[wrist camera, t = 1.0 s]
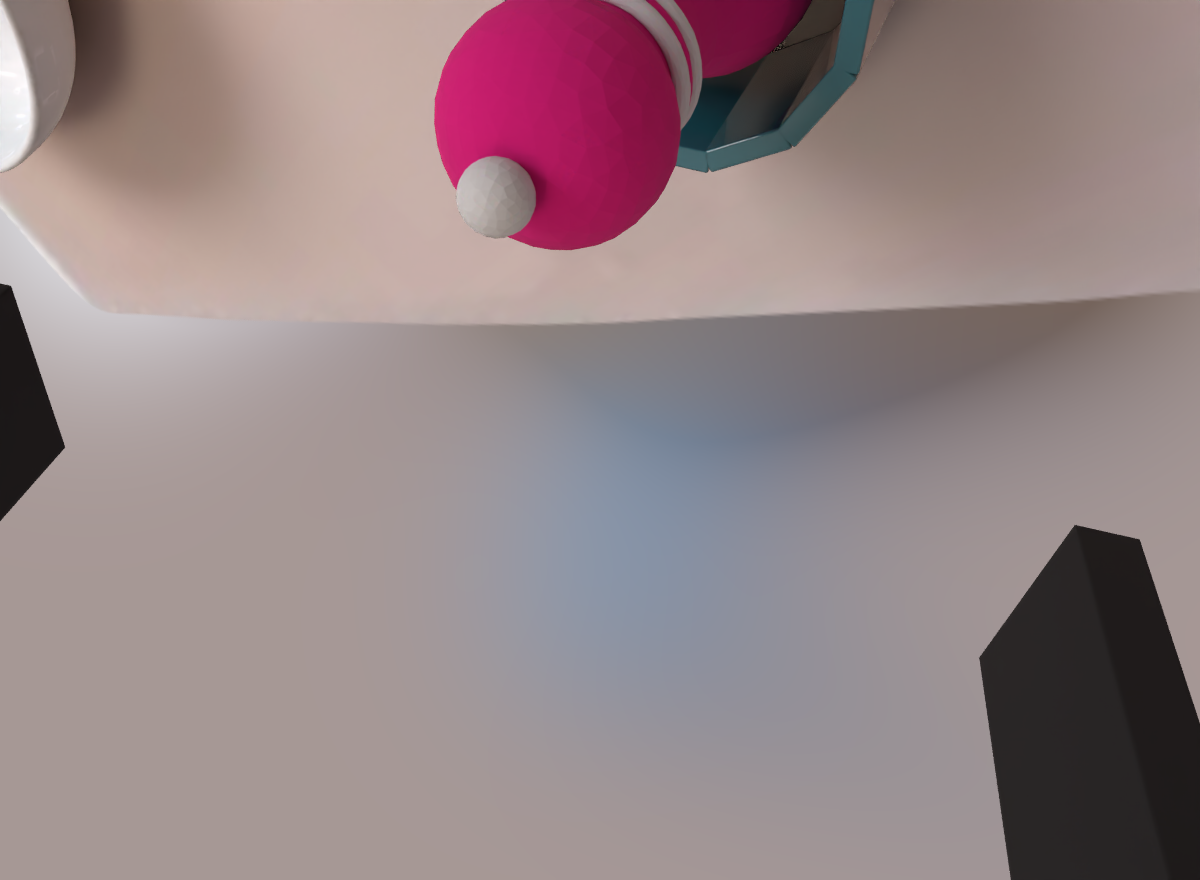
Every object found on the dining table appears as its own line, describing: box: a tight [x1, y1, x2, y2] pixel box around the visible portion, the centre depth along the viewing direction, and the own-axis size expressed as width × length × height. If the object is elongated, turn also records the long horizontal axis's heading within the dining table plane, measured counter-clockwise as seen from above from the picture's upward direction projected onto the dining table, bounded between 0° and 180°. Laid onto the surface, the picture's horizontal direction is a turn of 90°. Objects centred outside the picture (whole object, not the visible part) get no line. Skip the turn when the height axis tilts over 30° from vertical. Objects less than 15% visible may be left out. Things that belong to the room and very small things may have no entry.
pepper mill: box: [434, 0, 812, 250], centre depth 27 cm, size 7×7×20 cm
